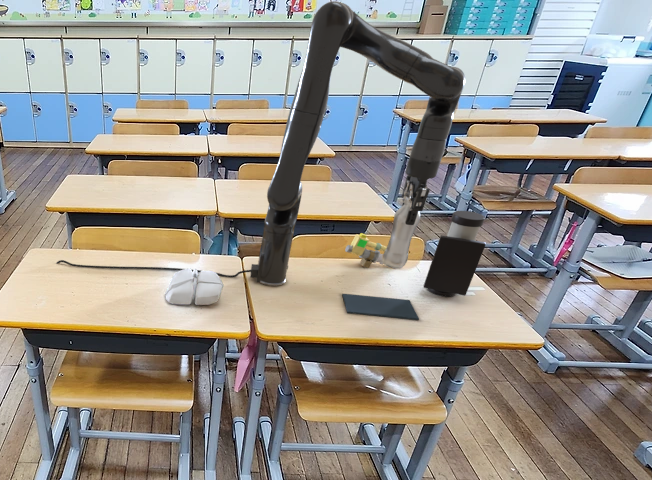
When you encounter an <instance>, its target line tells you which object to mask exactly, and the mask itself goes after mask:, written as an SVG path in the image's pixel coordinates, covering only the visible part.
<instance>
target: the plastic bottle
mask: <svg viewBox="0 0 652 480" xmlns="http://www.w3.org/2000/svg"><path fill="white" fill-rule="evenodd" d="M416 206H418V203H417V204H416ZM409 208H410V202H409V195H407V196H406V198H405V201H404V205H403V206H402V205H401V206H400V207H399V208H398V209H397V210H396V211H395V213H394V216H393V220H392V221H393V223H392V228H391V234H390V238H389V240H388V243H387V246H386V247H387V249H386V250H385V251H383V253H382V254H383V257H382V262H383V264H382V265H384V266H385V267H388V268H390V269H402V268H403V267H405V266H406V264H407V262H408V260H409V252H410V251H409V250H410V246H411V241H412V238H413V236H414V234H415V231H416V229H417V226H418V224H419V222H420V220H421V213H420V211H419V212H418V214H417V217H416V220H415V224H414V225H406V223H405V222H406V218H407V215H408V212H409Z"/></svg>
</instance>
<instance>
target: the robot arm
mask: <svg viewBox="0 0 652 480" xmlns="http://www.w3.org/2000/svg"><path fill="white" fill-rule="evenodd" d="M309 30H310V31H309V36H308V41H307V47H306V53H305V58H304V63H303V67H302V70H301V73H300V76H299V79H298V82H297V85H296V89H295V92H294V96H293V99H292V103H291V105H290V108H289V113H288V115H287V119H286V125H285V129H284V133H283V138H282V143H281V149H280V154H279V157H278V161H277V165H276V168H275V170H274V173H273V176H272V178H271V181H270V183H269V186H268V188H267V191H266V198H267V202H268V206H267V212H266V216H265V219H264V224H263V231H262V237H261V242H260V243H261V244H260V249H259V254H258V255H259V256H258V261H257V264H256V263H255V264H254V263H251V266H250V269H244V270H240V271H238V272H237V273H235V274H232V275H229V274H227V275H226V274H223V273H220V272H216V273H217V275H218V276H219V277H223V278H237V277H238V276H239V275H241V274H245V273H250V278H251V279H255V280H256V281H255V282H256V283H257V284H262V285H265V286H269V287H279V286H282V285H285V283H286V280H287V273H288V269H289V261H290V255H291V250H292V244H293V238H294V235H295V234H294V233H295V227H296V224H297V220H298V215H299V210H300V206H301V200H302V195H303V183H302V176H303V172H304V168H305V165H306V162H307V160H308V158H309V156H310V154H311V152H312V150H313V147H314V145H315V143H316V140H317V138H318V136H319V133H320V130H321V127H322V124H323V121H324V118H325V115H326V111H327V108H328V104H329V103H328V102H329V96H330V88H331V87H330V86H331V77H332V71H333V69H334V64H335V61H336V59H337V56H338V53H339V51H340V48H343V49H346V50H349V51H352V52H354V53H356V54H359V55H361V56H362V57H364V58H366V59H367V60H369V61H370V62H372V63H373V64H374V65H376V66H377V67H378V68H380V69H381V70H383V71H385V72H386V73H388V74H390V75H392V76H393V77H395V78H397V79H398V80H401V81H403V82H405V83H406V84H409V85H412V86H414V87H415V88H416V89H418V90H420V91H421V92H422V93H424V94H425V95H427V96H428V101H427V104H426V109H425V112H424V113H423V116H422V118H421V120H420V123H419V127H418V130H417V134H416V136H415V140H414V142H413V144H412V147H411V151H410V154H409V158H408V161H407V164H406V168H405V171H404V172H405V174H406V175H407V176H406V177H405V182H404V186H403V190H402V193H401V198H402V203H401V207H402V206H403V205H404V201H405V198H406V196H407V195H409V202H410V208H409V212H408V215H407V218H406V222H405V223H406V225H414V224H415V220H416V217H417V214H418V212H419V213H420V212H423V210H424V208H425V205H426V203H427V199H428V196H429V193H430V188H428V184H427V183H428V180H430V179H434V178H436V177H437V175H438V172H439V168H440V166H441V162H442V159H443V156H444V153H445V150H446V144H447V139H448V136H449V134H450V131H451V128H452V124H453V119H454V115H455V112H456V109H457V106H458V103H459V101H460V98H461V96H462V92H463V90H464V87H465V84H466V74H465V72H464V71H463V70H462V69H461V68H459V67H457V66H451V65H448V64H446V63H444V62H442V61H440V60H438V59H435V58H433V57H432V56H431V54H430V53H428V52H426V51H425V50H423V49H421V48H419V47H416V46H415V45H413V44H411V43H409V42H408V41H405V40H403V39H401V38H398V37H396V36H394V35H391V34H389V33H387V32H384V31H382V30H380V29H378V28H377V27H375V26H374V25H372V24H370V23H369V22H367V21H366V20H364V19H363V18H362V17H361V16H360V15H359V14H357V13H356V12H355V10H353V9H352V8H351V7H350V6H349V5H348V4H346V3H344V2H341V1H337V0H336V1H335V0H334V1H333V0H332V1H328V2H326V3H325V4H323V5H321V6H320V7H319V8H318V10H317V11H316V13H315V14H314V17H313V18H312V21H311V25H310V29H309ZM417 203H418V206H416V204H417ZM60 263H64V264H65V265H69V266H70V267H76V268H88V269H90V268H92V269H111V270H112V269H113V270H114V269H115V270H116V269H118V270H161V271H164V270H165V271H177V272H178V271H180V270H184V269H185V268H181V267H180V268H179V267H164V266H163V267H162V266H118V265H117V266H112V265H109V266H108V265H91V264H89V265H88V264H75V263H72V262H69V261H66V260H63V259H60V260H58V261H56V263H55V264H56V265H59V264H60ZM191 270H192V272H193V270H194V269H192V268H191ZM197 271H198V273H200V272H201V271H202V269H201V270H200V269H197Z"/></svg>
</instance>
